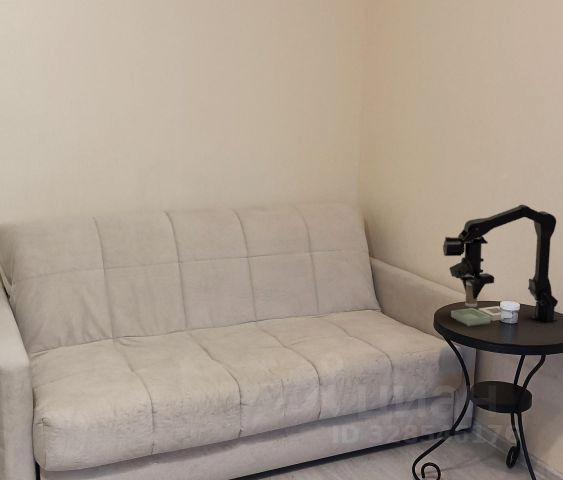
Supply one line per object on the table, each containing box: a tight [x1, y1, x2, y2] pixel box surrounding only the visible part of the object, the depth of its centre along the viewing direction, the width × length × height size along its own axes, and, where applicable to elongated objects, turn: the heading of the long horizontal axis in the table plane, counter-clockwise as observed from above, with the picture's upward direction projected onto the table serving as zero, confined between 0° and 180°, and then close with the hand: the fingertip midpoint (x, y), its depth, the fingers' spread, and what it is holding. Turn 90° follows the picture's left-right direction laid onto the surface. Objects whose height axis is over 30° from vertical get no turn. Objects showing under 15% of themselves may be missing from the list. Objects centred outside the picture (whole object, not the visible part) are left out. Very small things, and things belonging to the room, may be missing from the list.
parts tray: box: [450, 307, 491, 327], centre depth 251 cm, size 11×9×2 cm
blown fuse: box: [464, 280, 478, 308], centre depth 249 cm, size 4×4×9 cm
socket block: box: [477, 305, 502, 322], centre depth 255 cm, size 9×9×2 cm
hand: (471, 297), depth 249 cm, fingers closed on blown fuse, 4 cm apart
